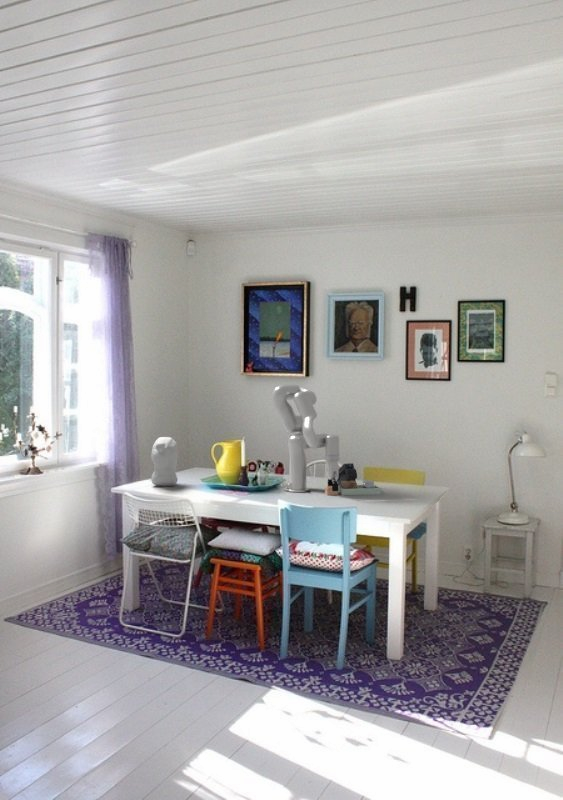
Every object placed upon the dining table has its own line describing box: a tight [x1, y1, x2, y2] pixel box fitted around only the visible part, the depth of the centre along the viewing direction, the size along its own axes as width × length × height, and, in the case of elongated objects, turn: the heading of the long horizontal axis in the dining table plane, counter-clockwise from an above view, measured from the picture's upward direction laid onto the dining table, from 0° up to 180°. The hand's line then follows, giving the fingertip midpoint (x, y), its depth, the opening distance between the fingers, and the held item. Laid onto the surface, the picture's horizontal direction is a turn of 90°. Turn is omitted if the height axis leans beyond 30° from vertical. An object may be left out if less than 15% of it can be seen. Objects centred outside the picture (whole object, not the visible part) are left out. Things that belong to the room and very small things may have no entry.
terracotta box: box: [324, 485, 339, 496], centre depth 400 cm, size 6×5×5 cm
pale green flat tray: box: [338, 484, 382, 496], centre depth 406 cm, size 22×12×4 cm, turn 100°
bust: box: [150, 436, 179, 487], centre depth 420 cm, size 15×26×28 cm, turn 177°
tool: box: [338, 462, 358, 485], centre depth 424 cm, size 6×19×15 cm, turn 22°
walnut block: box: [341, 481, 358, 489], centre depth 405 cm, size 7×7×6 cm
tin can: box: [362, 480, 375, 488], centre depth 407 cm, size 6×6×6 cm
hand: (333, 489), depth 399 cm, fingers open, 9 cm apart
